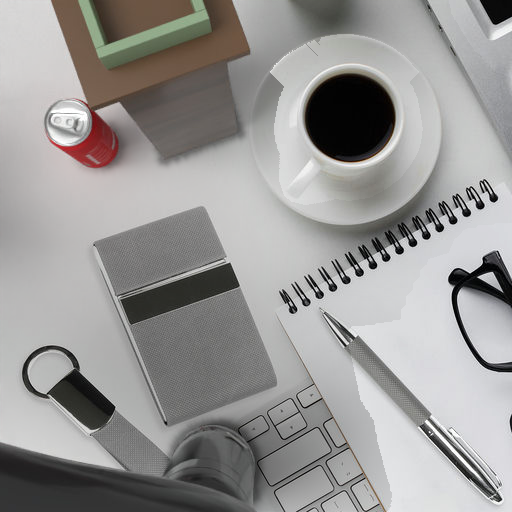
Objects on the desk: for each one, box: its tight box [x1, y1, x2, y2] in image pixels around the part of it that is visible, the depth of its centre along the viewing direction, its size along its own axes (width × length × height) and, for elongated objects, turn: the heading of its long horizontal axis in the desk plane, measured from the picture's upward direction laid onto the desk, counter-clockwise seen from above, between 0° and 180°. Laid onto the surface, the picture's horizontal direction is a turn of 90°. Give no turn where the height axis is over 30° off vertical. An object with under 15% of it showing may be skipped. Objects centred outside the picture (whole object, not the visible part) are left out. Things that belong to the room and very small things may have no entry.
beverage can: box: [43, 97, 120, 169], centre depth 71 cm, size 5×5×12 cm
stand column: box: [118, 63, 239, 160], centre depth 63 cm, size 9×9×29 cm
